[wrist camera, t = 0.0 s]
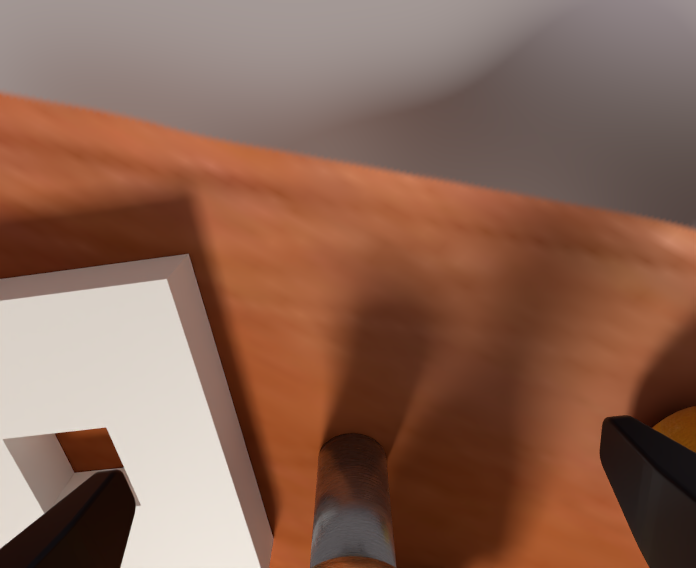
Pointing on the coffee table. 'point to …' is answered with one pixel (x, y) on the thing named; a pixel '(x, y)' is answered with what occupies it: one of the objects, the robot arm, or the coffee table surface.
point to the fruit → (680, 427)
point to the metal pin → (352, 506)
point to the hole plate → (127, 410)
